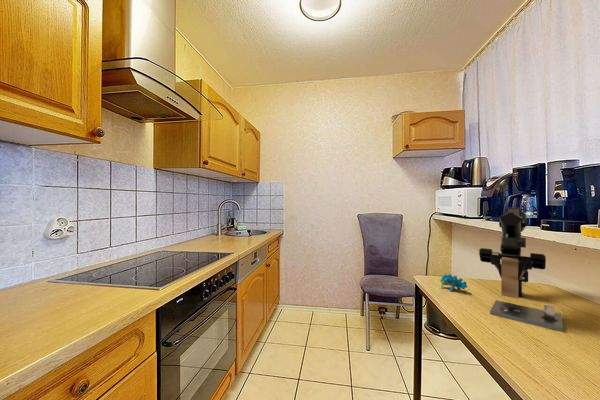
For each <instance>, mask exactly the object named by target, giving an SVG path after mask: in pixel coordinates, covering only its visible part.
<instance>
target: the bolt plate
mask: <svg viewBox="0 0 600 400" xmlns="http://www.w3.org/2000/svg"><path fill="white" fill-rule="evenodd" d="M491 306H492V307H491V308H490V311H489V314H490V315H492V316H496V317H500V318H506V319H509V320H513V321H516V322H517V321H518V322H521V323H526V324H530V325H534V326H538V327H541V328H546V329H550V330H554V331H558V332H563V333H564V324H563V318H562V317H563V315H562V313H558V312H556V307H555V306H554V305H551V304H550V305H549V304H544V305H543V309H540V308H535V307H530V306H525V305H520V304H516V303H511V302H505V301H501V300H497V299H496V300H495V301H494V303H493V305H491Z"/></svg>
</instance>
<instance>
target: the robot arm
mask: <svg viewBox="0 0 600 400" xmlns="http://www.w3.org/2000/svg"><path fill="white" fill-rule="evenodd" d="M498 225H499V228H501V231H502V235H501V241H500V242H501V243H500V249H499V250H500V252H499V251H493V248H488V247H487V248H485V247H481V248H480V249H479V251H478V255H479V259H480V261H481V262H482V263H490V264H491V265H493V266H494V267H495V268H496V270H497V272H498V274H499V277H500V278H501V259H502V257H507V258H516V259H518V285H519V296H518V298H520V297H521V298H523V297H524V294H525V293H524V292H523V283H528V282H529V270H530V271H531V270H533V269H534V270H535V269H536V270H545V269H546V261H547V259H546V255H545V254H543V253H538V252H537V253H535V252H529V253H530V254H529V256H525V255H522V248H525V249H526V245H527V242H526V241H527V238H526V237H522V232H524V230H525V229H526V227H527V213H525V212H524V211H522V208H520V207H508V208H506V211H505V212H503V213H502V216H501V218H500V219H499V222H498Z"/></svg>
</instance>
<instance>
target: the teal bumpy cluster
mask: <svg viewBox="0 0 600 400" xmlns="http://www.w3.org/2000/svg"><path fill="white" fill-rule="evenodd" d="M463 280H464V279H463V278H461V277H459V279H458V276H457V275H453V276H452V274H450V273H448V274H445V273H444V274H443V275H442V276H441V277H440V279H439V282H440V283H441V285H440V289H444V286H449V287H450V289H449V291H450V292H453V291H454V289H455V287H456V289H457V290H461V289H462V290H465V288H468V285H467V282H466V281H463Z"/></svg>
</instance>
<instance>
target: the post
mask: <svg viewBox="0 0 600 400" xmlns="http://www.w3.org/2000/svg"><path fill="white" fill-rule="evenodd" d="M500 262H501V277H500V279H501V280H500V281H501V283H500V284H501V296H502V297H507V298H513V299H517V300H518V299H519V285H518V259H516V258H507V257H502V259H500Z"/></svg>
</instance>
